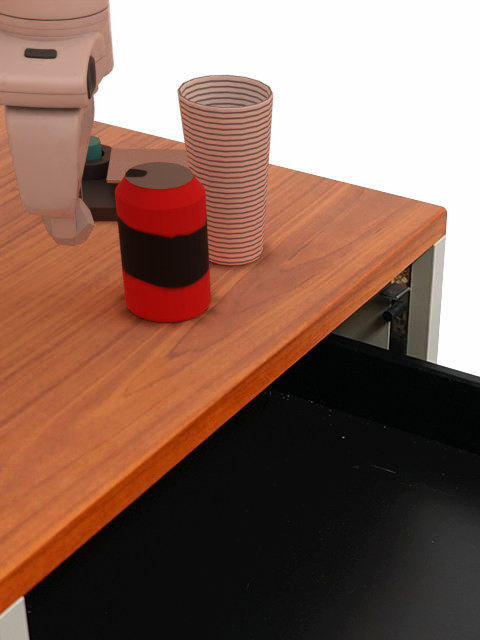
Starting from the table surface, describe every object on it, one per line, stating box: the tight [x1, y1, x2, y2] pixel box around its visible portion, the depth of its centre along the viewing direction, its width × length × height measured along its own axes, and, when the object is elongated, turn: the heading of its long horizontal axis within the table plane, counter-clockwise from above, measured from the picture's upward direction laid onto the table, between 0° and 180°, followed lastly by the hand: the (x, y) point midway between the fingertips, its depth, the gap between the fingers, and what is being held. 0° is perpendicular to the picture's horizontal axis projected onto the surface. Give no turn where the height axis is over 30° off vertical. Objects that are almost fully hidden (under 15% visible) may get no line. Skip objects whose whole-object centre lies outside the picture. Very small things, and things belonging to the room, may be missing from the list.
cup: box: [176, 74, 274, 266], centre depth 129 cm, size 8×8×16 cm
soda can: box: [115, 162, 212, 323], centre depth 121 cm, size 8×8×12 cm
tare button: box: [86, 135, 102, 161], centre depth 142 cm, size 3×3×2 cm
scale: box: [81, 143, 119, 222], centre depth 141 cm, size 14×12×3 cm
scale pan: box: [106, 147, 188, 183], centre depth 140 cm, size 8×8×1 cm
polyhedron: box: [41, 198, 96, 248], centre depth 110 cm, size 4×4×3 cm
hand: (68, 221), depth 110 cm, fingers closed on polyhedron, 4 cm apart
